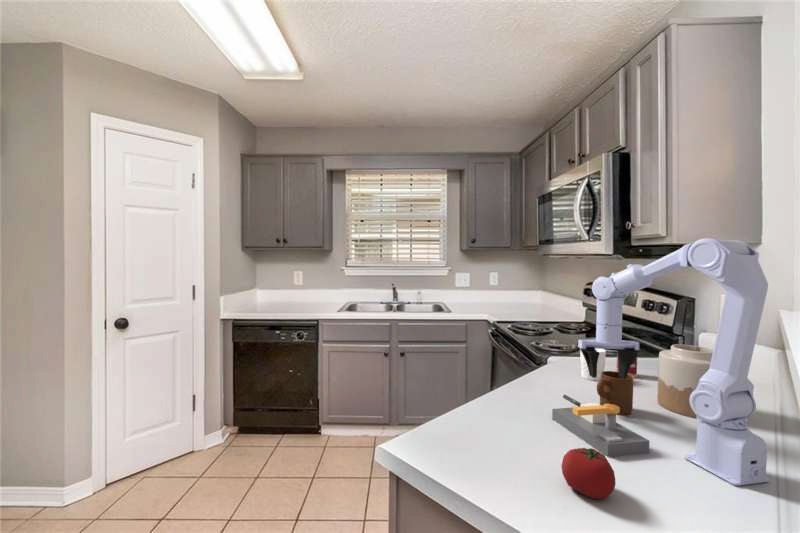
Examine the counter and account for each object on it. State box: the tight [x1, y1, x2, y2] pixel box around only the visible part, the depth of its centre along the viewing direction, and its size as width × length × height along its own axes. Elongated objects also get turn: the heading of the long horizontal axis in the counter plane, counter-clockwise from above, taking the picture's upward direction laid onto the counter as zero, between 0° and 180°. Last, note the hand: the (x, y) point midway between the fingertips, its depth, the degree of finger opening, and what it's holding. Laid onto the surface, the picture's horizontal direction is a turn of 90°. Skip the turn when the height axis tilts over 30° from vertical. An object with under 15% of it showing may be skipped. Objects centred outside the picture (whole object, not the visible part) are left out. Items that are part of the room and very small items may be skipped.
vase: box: [657, 343, 714, 419], centre depth 99 cm, size 15×15×17 cm
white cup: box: [579, 348, 607, 382], centre depth 125 cm, size 8×8×10 cm
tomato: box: [561, 447, 617, 500], centre depth 61 cm, size 8×8×7 cm
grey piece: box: [551, 407, 650, 458], centre depth 82 cm, size 18×10×6 cm, turn 12°
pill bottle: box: [615, 352, 638, 378], centre depth 129 cm, size 6×6×11 cm
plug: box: [562, 394, 606, 423], centre depth 89 cm, size 12×4×3 cm, turn 12°
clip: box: [572, 404, 620, 416], centre depth 79 cm, size 10×3×1 cm, turn 102°
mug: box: [596, 370, 634, 416], centre depth 96 cm, size 12×8×9 cm, turn 120°
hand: (607, 376), depth 93 cm, fingers open, 7 cm apart
